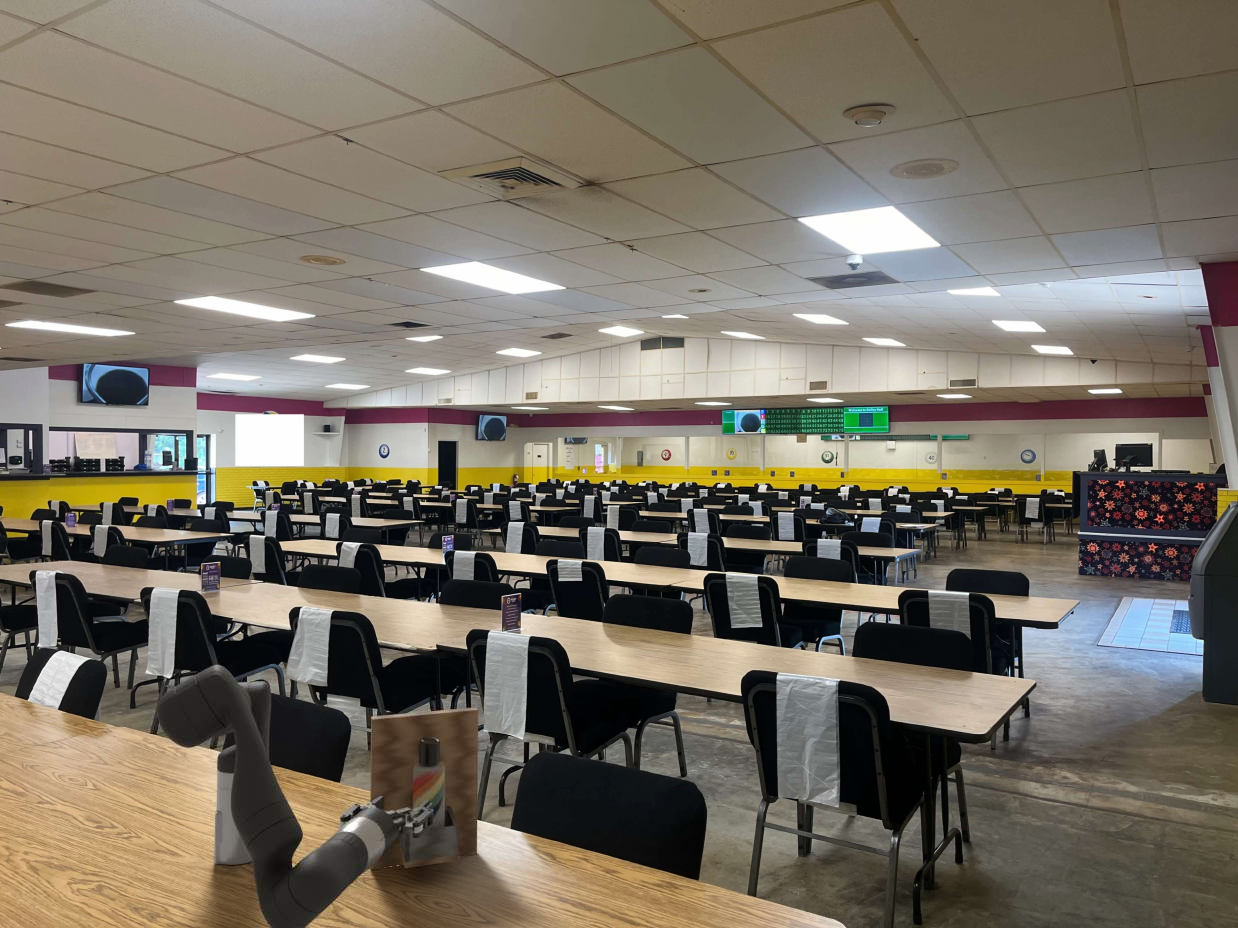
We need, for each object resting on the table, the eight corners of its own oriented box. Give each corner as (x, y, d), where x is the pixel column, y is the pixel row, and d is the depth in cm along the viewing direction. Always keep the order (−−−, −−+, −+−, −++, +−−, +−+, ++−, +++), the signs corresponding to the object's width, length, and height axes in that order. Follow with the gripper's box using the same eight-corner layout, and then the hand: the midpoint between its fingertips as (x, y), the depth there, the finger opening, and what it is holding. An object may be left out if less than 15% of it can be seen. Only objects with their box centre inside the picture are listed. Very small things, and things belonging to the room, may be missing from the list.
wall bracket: (374, 895, 147) (375, 734, 148) (369, 865, 159) (371, 716, 159) (487, 877, 154) (488, 724, 155) (475, 849, 166) (476, 707, 166)
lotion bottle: (415, 841, 158) (416, 734, 158) (446, 840, 158) (447, 733, 159) (410, 854, 152) (411, 743, 152) (442, 853, 152) (443, 743, 153)
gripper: (404, 821, 128) (444, 783, 144) (318, 814, 130) (367, 778, 146) (404, 870, 128) (444, 828, 144) (318, 863, 130) (366, 822, 146)
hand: (405, 803), depth 145 cm, fingers open, 8 cm apart
